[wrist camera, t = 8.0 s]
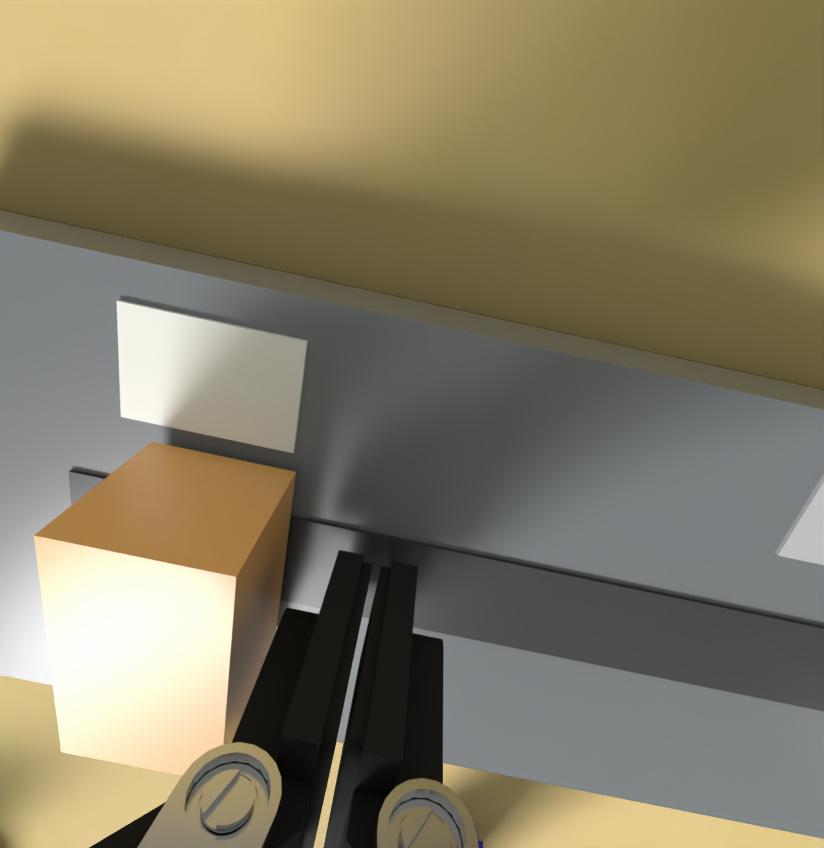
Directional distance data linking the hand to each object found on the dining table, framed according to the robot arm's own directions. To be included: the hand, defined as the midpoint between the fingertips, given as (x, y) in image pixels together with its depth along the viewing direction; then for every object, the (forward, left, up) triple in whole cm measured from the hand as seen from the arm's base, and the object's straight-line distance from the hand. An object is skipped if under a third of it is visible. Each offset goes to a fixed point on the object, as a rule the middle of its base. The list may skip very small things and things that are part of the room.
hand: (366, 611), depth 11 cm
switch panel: (-3, 0, -3) cm, 4 cm away
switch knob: (+4, 0, -1) cm, 4 cm away
